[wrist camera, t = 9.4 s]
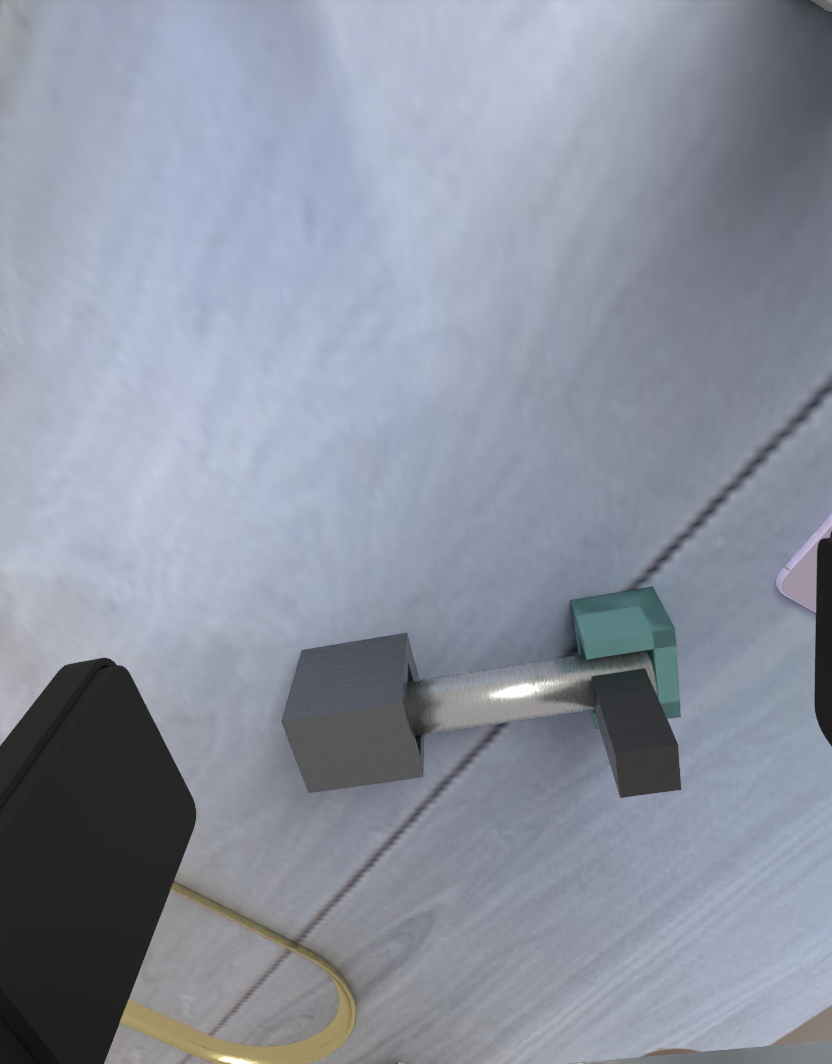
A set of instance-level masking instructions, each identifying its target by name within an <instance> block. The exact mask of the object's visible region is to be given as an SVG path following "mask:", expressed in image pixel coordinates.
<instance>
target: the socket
mask: <svg viewBox="0 0 832 1064" xmlns="http://www.w3.org/2000/svg"><path fill="white" fill-rule="evenodd" d="M571 606H572V613H573V620H574V628H575V635H576V642H577V649H578V655H584V654H585V657H586V660H587V659H594V658H600V657H606V656H613V655H619V654H626V653H632V652H638V651H645V650H647V651H648V653H649V656H650V659H651V662H652V666H653V670H654V674H655V680H656V686H657V697H658V699H659V702H660V704H661V706H662V709H663V711H664V713H665V716H666V718H667V719H669V718H676V717H681V714H680V699H679V684H678V670H677V655H676V640H675V628H674V626H673V624H672V622H671V620H670V618H669V617H668V615H667V613H666V611H665V609H664V607H663V605H662V603H661V602H660V600H659V598H658V596H657V594H656V592H655V590H654V589H653V587H648V588H642V589H636V590H630V591H624V592H618V593H612V594H606V595H600V596H594V597H588V598H582V599H576V600H571ZM590 711H591V714H592V717H593V721H594V724H595V728H596V729H600V728H599V725H598V721H597V718H596V711H595V709H594V710H590Z"/></svg>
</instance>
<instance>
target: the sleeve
mask: <svg viewBox="0 0 832 1064" xmlns="http://www.w3.org/2000/svg"><path fill="white" fill-rule="evenodd" d="M418 680H419V677H418V673H417V669H416V665H415V662H414V658H413V654H412V650H411V647H410V643H409V639H408V635H407V633H404V634H398V635H392V636H386V637H380V638H374V639H368V640H362V641H355V642H349V643H343V644H337V645H331V646H325V647H319V648H313V649H307V650H302V652H301V656H300V659H299V663H298V666H297V670H296V673H295V677H294V680H293V683H292V687H291V690H290V694H289V697H288V701H287V704H286V707H285V711H284V714H283V718H282V724H283V727H284V729H285V732H286V734H287V737H288V740H289V742H290V745H291V748H292V750H293V753H294V755H295V758H296V761H297V763H298V766H299V769H300V771H301V774H302V776H303V779H304V782H305V784H306V787H307V790H308V792H309V793H312V792H319V791H326V790H333V789H340V788H347V787H355V786H362V785H369V784H376V783H383V782H390V781H397V780H404V779H411V778H419V777H423V760H424V735H418V736H415V735H414V732H413V728H412V724H411V721H410V717H409V714H408V710H407V707H406V694H407V682H412V681H418Z"/></svg>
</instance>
